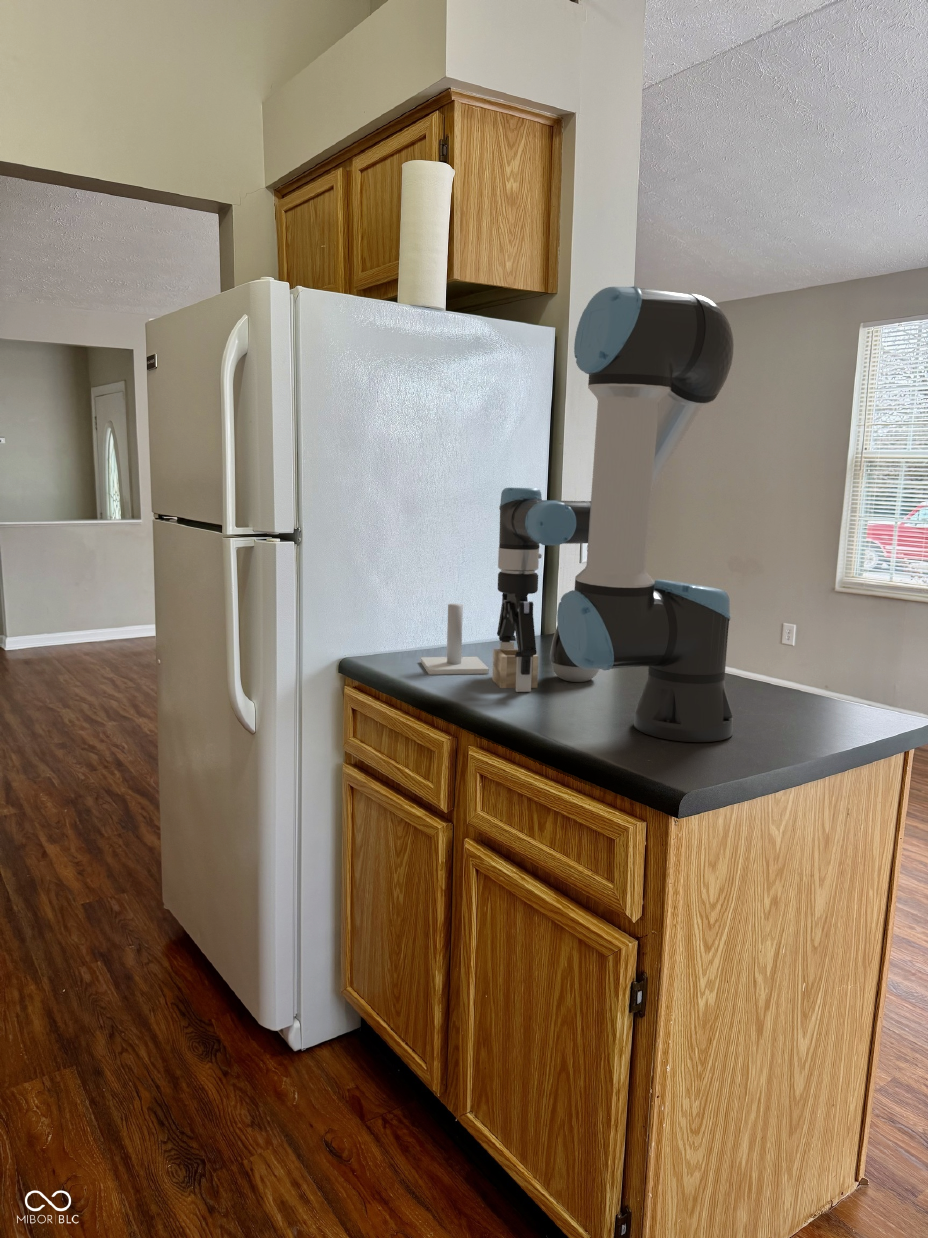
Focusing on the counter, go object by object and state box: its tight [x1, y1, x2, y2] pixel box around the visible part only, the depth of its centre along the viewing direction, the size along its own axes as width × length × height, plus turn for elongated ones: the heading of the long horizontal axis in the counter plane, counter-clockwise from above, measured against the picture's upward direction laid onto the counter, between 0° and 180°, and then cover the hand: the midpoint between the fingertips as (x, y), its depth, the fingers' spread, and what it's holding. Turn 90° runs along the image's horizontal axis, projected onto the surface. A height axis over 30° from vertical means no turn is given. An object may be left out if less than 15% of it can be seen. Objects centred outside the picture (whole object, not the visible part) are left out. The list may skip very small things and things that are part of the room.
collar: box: [492, 648, 539, 689], centre depth 167 cm, size 7×7×6 cm
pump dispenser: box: [549, 624, 600, 683], centre depth 171 cm, size 10×10×15 cm
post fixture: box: [420, 603, 490, 676], centre depth 179 cm, size 12×12×13 cm
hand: (514, 682), depth 167 cm, fingers open, 13 cm apart
